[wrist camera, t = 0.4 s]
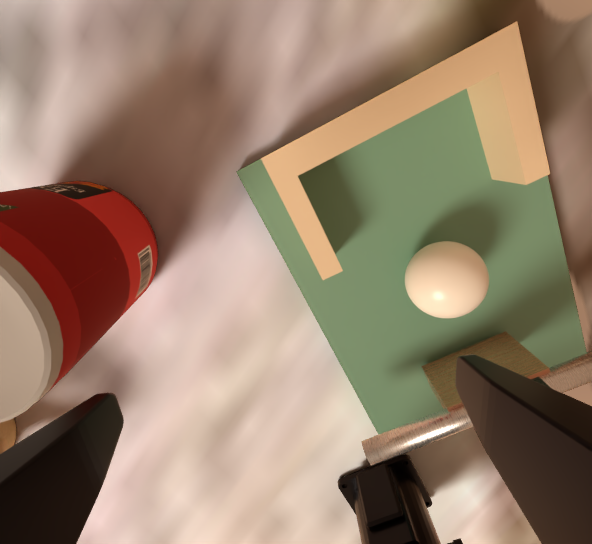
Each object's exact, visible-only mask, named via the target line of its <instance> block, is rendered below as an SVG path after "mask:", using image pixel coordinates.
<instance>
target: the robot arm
mask: <svg viewBox="0 0 592 544" xmlns="http://www.w3.org/2000/svg"><path fill="white" fill-rule="evenodd" d="M455 385H456V389H457V392H458V394H459V396H460V399H461V401H462V403H463V405H464V407H465V409H466V411H467V413H468V416H469V418H470V420H471V422H472V424H473V426H474V428H475V430H476V432H477V435H478V437H479V439H480V441H481V443H482V445H483V447H484V448H485V450H486V452H487V454H488V455H489V457H490V459H491V460H492V462H493V464H494V465H495V467H496V469H497V470H498V472H499V474H500V475H501V477H502V479H503V480H504V482H505V484H506V485H507V487H508V489H509V490H510V492H511V494H512V495H513V497H514V498H515V500H516V502H517V503H518V505H519V507H520V508H521V510H522V512H523V513H524V515H525V517H526V518H527V520H528V522H529V523H530V525H531V527H532V528H533V530H534V532H535V533H536V535H537V536H538V538H539V540H540V541H541V543H542V544H592V406H590V405H587V404H585V403H583V402H581V401H578V400H576V399H574V398H572V397H570V396H567V395H565V394H563V393H561V392H558V391H556V390H554V389H552V388H549V387H547V386H545V385H543V384H540V383H538V382H536V381H534V380H531V379H529V378H527V377H525V376H522V375H520V374H518V373H516V372H513V371H511V370H509V369H507V368H504V367H502V366H500V365H498V364H495V363H493V362H491V361H489V360H486V359H484V358H482V357H480V356H477V355H474V354H471V355H462V356H459V357H458V358H457V362H456V379H455ZM123 421H124V420H123V415H122V412H121V409H120V406H119V404H118V401H117V398H116V396H115V395H114V394H113V393H102V394H96V395H94V396H93V397H91V398H89V399H88V400H86V401H85V402H83V403H81V404H80V405H78V406H77V407H75V408H73V409H72V410H70V411H69V412H67V413H65V414H64V415H62V416H61V417H59V418H57V419H56V420H54V421H52V422H51V423H49V424H48V425H46V426H44V427H43V428H41V429H40V430H38V431H36V432H35V433H33V434H32V435H30V436H28V437H27V438H25V439H24V440H22V441H20V442H19V443H17V444H16V445H14V446H12V447H11V448H9V449H7V450H6V451H4V452H3V453H1V454H0V544H76V543H77V541H78V539H79V537H80V534H81V532H82V530H83V528H84V526H85V523H86V521H87V519H88V517H89V514H90V512H91V510H92V508H93V506H94V503H95V501H96V499H97V497H98V494H99V492H100V490H101V487H102V485H103V482H104V480H105V477H106V474H107V471H108V468H109V466H110V463H111V460H112V457H113V454H114V451H115V448H116V445H117V442H118V439H119V437H120V434H121V431H122V428H123ZM338 487H339V489H340V491H341V492H342V494H343V495H344V497H345V498H346V500H347V501H348V503H349V504H350V506H351V508H352V509H353V511H354V512H355V514H356V515H357V521H358V526H359V531H360V536H361V541H362V544H441V543H440V541H439V538H438V535H437V533H436V530H435V528H434V525H433V523H432V520H431V517H430V515H429V512H428V510H427V508H428V507H430V506H431V505H432V501H431V498H430V496H429V494H428V492H427V490H426V488H425V487H424V485H423V483H422V481H421V479H420V477H419V475H418V473H417V471H416V469H415V467H414V465H413V463H412V461H411V459H410V457H409V456H408V455H400V456H398V457H395V458H392V459H390V460H387V461H385V462H382V463H379V464H377V465H374V466H371V467H369V468H366V469H364V470H361V471H358V472H356V473H353V474H350V475H348V476H345V477H343V478H340V479H339V480H338ZM448 544H463V543H462V541H461V539H456V540H453V542H452V543H448Z"/></svg>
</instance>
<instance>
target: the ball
mask: <svg viewBox="0 0 592 544" xmlns="http://www.w3.org/2000/svg"><path fill="white" fill-rule="evenodd" d="M488 286H489V274H488V270H487V267H486V265H485V263H484V261H483V259H482V258H481V257H480V256H479V255H478V253H476V252H475V251H474V250H473V249H471V248H469V247H468V246H466V245H463V244H461V243H457V242H451V241H442V242H436V243H432V244H430V245H427V246H425V247H424V248H422V249H421V250H419V251H418V252H417V253H416V254H415V255H414V256H413V257H412V259H411V260H410V262H409V264H408V266H407V268H406V272H405V287H406V290H407V293H408V295H409V297H410V299H411V301H412V302H413V303H414V304H415V305H416V306H417V307H418V308H419V309H420V310H422V311H423V312H425V313H427V314H429V315H431V316H434V317H438V318H456V317H460V316H463V315H466V314H468V313H470V312H471V311H473V310H474V309H475V308H477V307H478V306H479V305H480V303H481V302H482V301H483V299H484V298H485V296H486V293H487V291H488Z"/></svg>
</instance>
